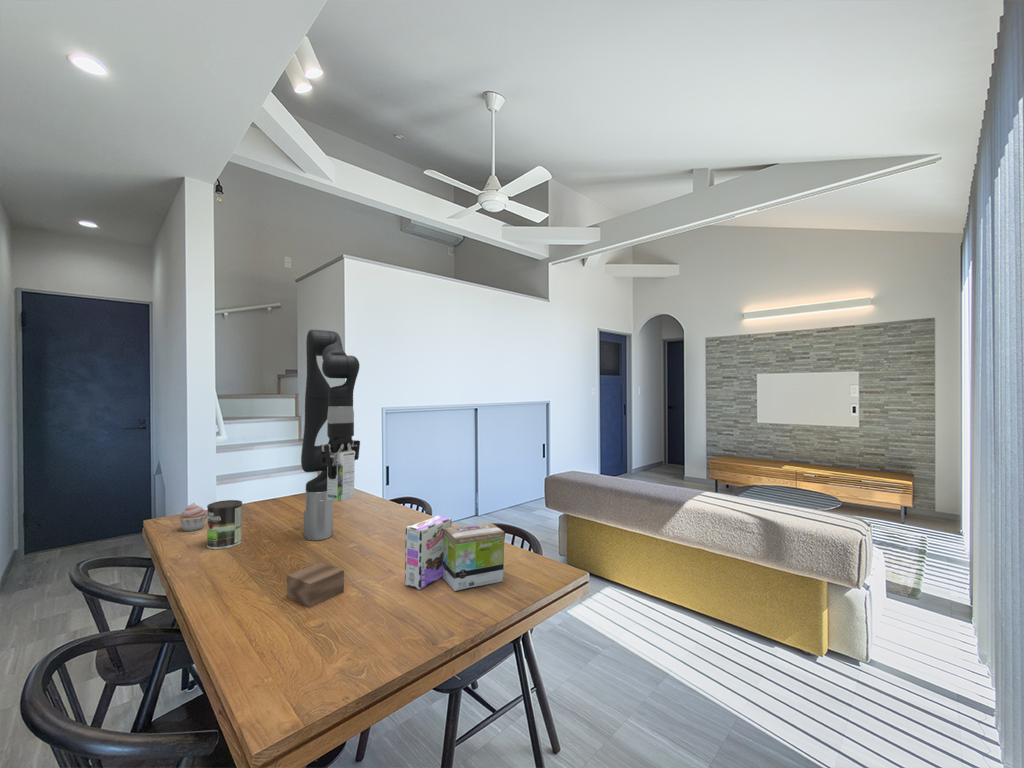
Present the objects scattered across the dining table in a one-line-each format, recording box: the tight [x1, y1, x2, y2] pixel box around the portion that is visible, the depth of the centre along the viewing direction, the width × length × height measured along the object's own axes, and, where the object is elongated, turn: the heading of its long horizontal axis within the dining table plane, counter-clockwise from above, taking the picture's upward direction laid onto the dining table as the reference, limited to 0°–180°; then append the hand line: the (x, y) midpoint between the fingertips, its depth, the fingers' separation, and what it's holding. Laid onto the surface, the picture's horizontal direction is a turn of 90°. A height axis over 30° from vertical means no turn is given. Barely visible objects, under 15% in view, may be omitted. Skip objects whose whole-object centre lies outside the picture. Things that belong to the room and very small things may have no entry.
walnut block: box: [286, 562, 345, 608], centre depth 120 cm, size 10×10×6 cm
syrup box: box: [327, 451, 356, 502], centre depth 136 cm, size 6×6×14 cm
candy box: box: [404, 515, 452, 590], centre depth 130 cm, size 14×6×16 cm, turn 149°
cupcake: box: [178, 502, 208, 532], centre depth 173 cm, size 9×9×10 cm
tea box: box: [442, 521, 505, 592], centre depth 129 cm, size 15×10×15 cm
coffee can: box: [206, 499, 243, 550], centre depth 157 cm, size 10×10×14 cm
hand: (340, 476), depth 136 cm, fingers closed on syrup box, 6 cm apart
